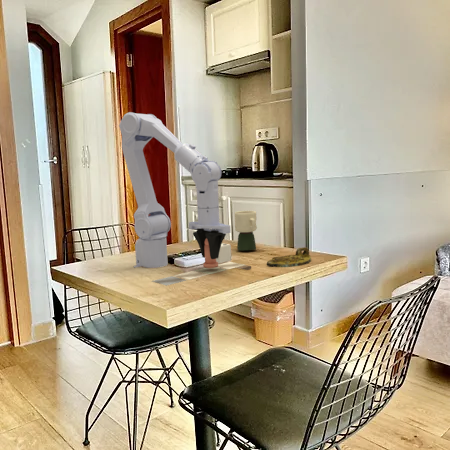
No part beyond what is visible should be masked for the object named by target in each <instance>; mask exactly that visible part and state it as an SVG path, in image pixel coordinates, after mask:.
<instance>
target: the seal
mask: <svg viewBox="0 0 450 450" xmlns="http://www.w3.org/2000/svg"><path fill="white" fill-rule="evenodd" d="M311 262H312V256H311V255H310V250H309V248H308V247H306V246H304V247H298V248H297V249H296V251H295V254H288V255H283V256H273V257H272V258H271V259H270V260H268V261H267V262H266V266H268V267H272V268H274V267H275V268H292V267H293V268H295V267H299V266H303V265H304V266H305V265H308V264H310V263H311Z"/></svg>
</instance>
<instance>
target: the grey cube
mask: <svg viewBox="0 0 450 450" xmlns="http://www.w3.org/2000/svg"><path fill="white" fill-rule="evenodd" d="M216 262H218V263H222V262H232V244H229V243H223V242H222V244H221V247H220V252H219V256H218V258H216Z"/></svg>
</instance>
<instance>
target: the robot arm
mask: <svg viewBox="0 0 450 450" xmlns="http://www.w3.org/2000/svg"><path fill="white" fill-rule="evenodd" d="M118 127H119V130H120V134H121V150H122V153H123V157H124V160H125V164H126V168H127V171H128V174H129V177H130V182H131V185H132V189H133V192H134V196H135V200H136V203H137V209H136V210H135V212H134V213H133V218H134V232H135V233H136V235H137V236H138V237H139V238H138V239H137V240H136V242H135V246H134V249H135V264H136V265H133V268H139V267H143V268H147V269H153V268H157V269H158V268H162V267H165V266H168V264H169V263H168V262H169V261H168V246H167V237H168V232H169V231H170V230H171V227H172V222H171V219H170V217H169V216H168V215H167V213H166V210H165V208H164V206H162V205H161V204H160V203H158V201H157V198H156V197H157V196H156V193H155V190H154V186H153V183H152V179H151V175H150V171H149V168H148V165H147V162H146V157H145V154H144V148H145V147H146V145H147V144H148V143H149V142H150V141H151V140H152V139H153V138H154V139H156V140H157V141H158V142H160V144H162V145H163V146H164V147H166V148H167V149H169V150H170V151H171V152H172V153H173V154H174V160H175V161H177V163H179V164H180V165H181V166H182V167H183V168H184V169H185V170H186V171H187V172H188V173H189V174H190V176H191V179H192V181H193V182H194V184H195V185H194V186H195V189H196V205H197V206H196V209H197V221H189V222H188V229H189V230H196V231H193V232H192V235H193V237H194V238H195V241H197V243H198V247H199V249H200V254H201V257H202V258H204V259H205V250H204V245H205V239H206V238H207V240H208V243H209V248H210V257H211V259H216V258H218V256H219V252H220V247H221V244H222V243H223V241H224V239H225V237H226V236H227V234H230V233H232V232H231V225H229V224H225V223H221V222H220V203H219V202H220V201H219V181H220V179H221V177H222V168H221V166H220V165H219V164H218V162H217V161H215V160H209V157H207V156H206V155H203V154H202V152H200V151H198V150H197V149H196V148H197V146H196V145H195V144H194V143H188V142H186V143H183V142H182V141H180V139H179V138H178V137H177V136H175V135H174V134H173V133H172V132H171V130H169V129H168V127H166V126H165V124H163V122H162V120H161V119H159V118H157V116H155V115H154V114H152V113H147V114H146V113H135V112H132V111H129V112H127V113H125V114H124V115H123V117H122V118H121V120H120V123H119V125H118Z"/></svg>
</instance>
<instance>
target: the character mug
mask: <svg viewBox="0 0 450 450" xmlns="http://www.w3.org/2000/svg"><path fill="white" fill-rule="evenodd" d="M257 228H258V227H257V211H256V210H240V211H235V212H234V230H235V232H237V233H238V236H237V246H236V247H237V248H236V249H237V251H247V252H250V251H255V250H256V249H257V245H256V244H257V243H256V238H255V235H254V232H255V231H256V230H257Z"/></svg>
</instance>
